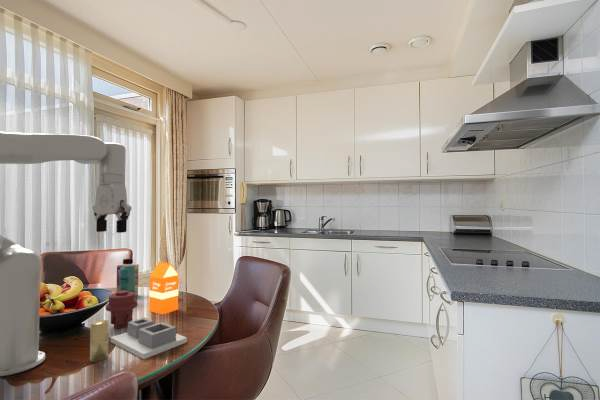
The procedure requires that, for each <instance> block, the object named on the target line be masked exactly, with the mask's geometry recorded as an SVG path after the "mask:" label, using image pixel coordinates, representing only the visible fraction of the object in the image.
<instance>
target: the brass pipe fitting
mask: <svg viewBox="0 0 600 400" xmlns="http://www.w3.org/2000/svg"><path fill="white" fill-rule="evenodd" d="M109 326H110V322H109V320H107V319H102V320H96V321H93V322H90V328H89V329H90V330H89V331H90V337H89V341H90V342H89V361H90V362H91V363H98V362H103V361H104V360H107V359H108V358H109V335H110V334H109V332H110V331H109V330H110V327H109Z"/></svg>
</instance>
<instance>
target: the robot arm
mask: <svg viewBox="0 0 600 400" xmlns="http://www.w3.org/2000/svg"><path fill="white" fill-rule="evenodd" d="M126 153H127V151H126V147H125V146H124V145H123V144H121V143H116V142H104V140H102V139H101V138H99V137H96V136H93V135H83V134H82V135H81V134H68V133H67V134H66V133H26V132H24V133H23V132H7V131H0V164H2V165H3V164H4V165H6V164H7V165H10V164H11V165H33V164H34V165H35V164H44V163H48V162H49V163H50V162H56V161H57V162H58V161H74V162H75V163H78V164H83V165H89V164H90V165H95V164H97V165H98V166H99V168H98V169H99V170H98V171H99V172H98V185H97V187H96V192H95V199H94V206H93V207H92V210H93V215H94V216H95V217H94V218H95V220H96V225H95V226H96V227H95V228H96V229H95V230H96V232H97V233H101V232H102V233H103V232H104V233H105V232H107V230H108V229H107V227H108V226H107V225H108V224H107V223H108V222H107V221H108V220H107V219H106V218H107V217H108V215H115V216H116V218H117V220H116V226H115V228H116V231H115V232H116V233H118V234H120V233H121V234H122V233H127V228H128V226H127V223H128V222H127V221H128V220H129V218H130V215H131V211H132V206H131V205H130V204H128V198H127V197H128V196H127V195H128V194H127V187H126V157H127V156H126V155H127V154H126ZM43 267H44V265H43V260H42V259H41V257H40V256H39V255H38V253H37V252H35V251H33V250H31V249H29V248H25V247H23V246H22V245H19V244H18V243H16V242H15V241H14V240H11V239H10V238H8V237H7V236H5V235H3V234H2V233H0V377H6V376H11V375H14V374H15V375H16V374H18V373H21V372H25V371H28V370H30V369H33V368H35V367H37V366H38V365H40V364H41V363H43V362H44V361H45V359H46V353H45V352H44V351H42V350H41V351H40V350H39V349H40V348H39V347H40V345H39V344H40V343H39V341H40V340H39V339H40V337H39V336H40V306H41V305H40V304H41V303H40V301H41V300H40V297H41V283H42V278H43V269H44V268H43Z"/></svg>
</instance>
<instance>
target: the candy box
mask: <svg viewBox="0 0 600 400" xmlns="http://www.w3.org/2000/svg"><path fill="white" fill-rule="evenodd" d="M123 266H134V267H135V297H136V296H138V295H139V263H132V264H123V263H122V264H118V265H116V292H118V291H119V284H120V281H119V280H120V279H119V278H120V269H121V268H122V267H123ZM116 292H115V293H116Z"/></svg>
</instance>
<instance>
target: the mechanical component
mask: <svg viewBox="0 0 600 400" xmlns="http://www.w3.org/2000/svg"><path fill="white" fill-rule="evenodd" d="M136 307H138V300H136V296H135V293H134V292H128V291H127V290H123V291H118V292H114V293H112V294H110V295H108V303H107V304H106V305H105V310H106V311H108V312H110V325H113V329H114V330H117V329H119V328H124V327H128V322H131V321H134V320H133V311H134V310H133V309H135V308H136Z"/></svg>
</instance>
